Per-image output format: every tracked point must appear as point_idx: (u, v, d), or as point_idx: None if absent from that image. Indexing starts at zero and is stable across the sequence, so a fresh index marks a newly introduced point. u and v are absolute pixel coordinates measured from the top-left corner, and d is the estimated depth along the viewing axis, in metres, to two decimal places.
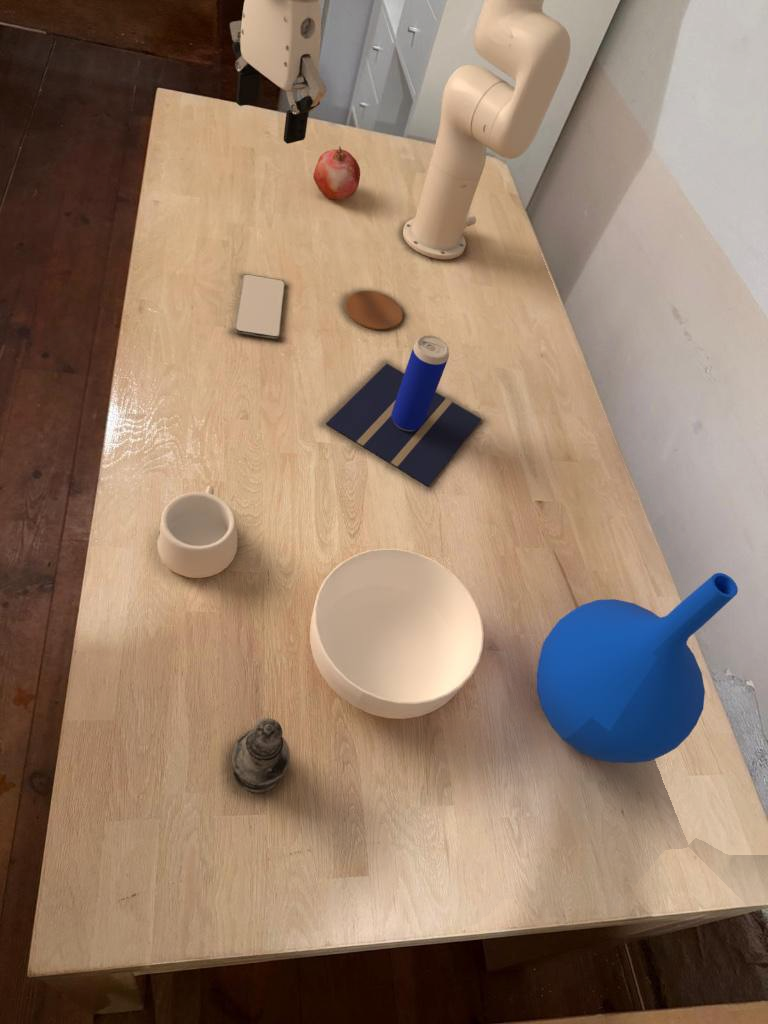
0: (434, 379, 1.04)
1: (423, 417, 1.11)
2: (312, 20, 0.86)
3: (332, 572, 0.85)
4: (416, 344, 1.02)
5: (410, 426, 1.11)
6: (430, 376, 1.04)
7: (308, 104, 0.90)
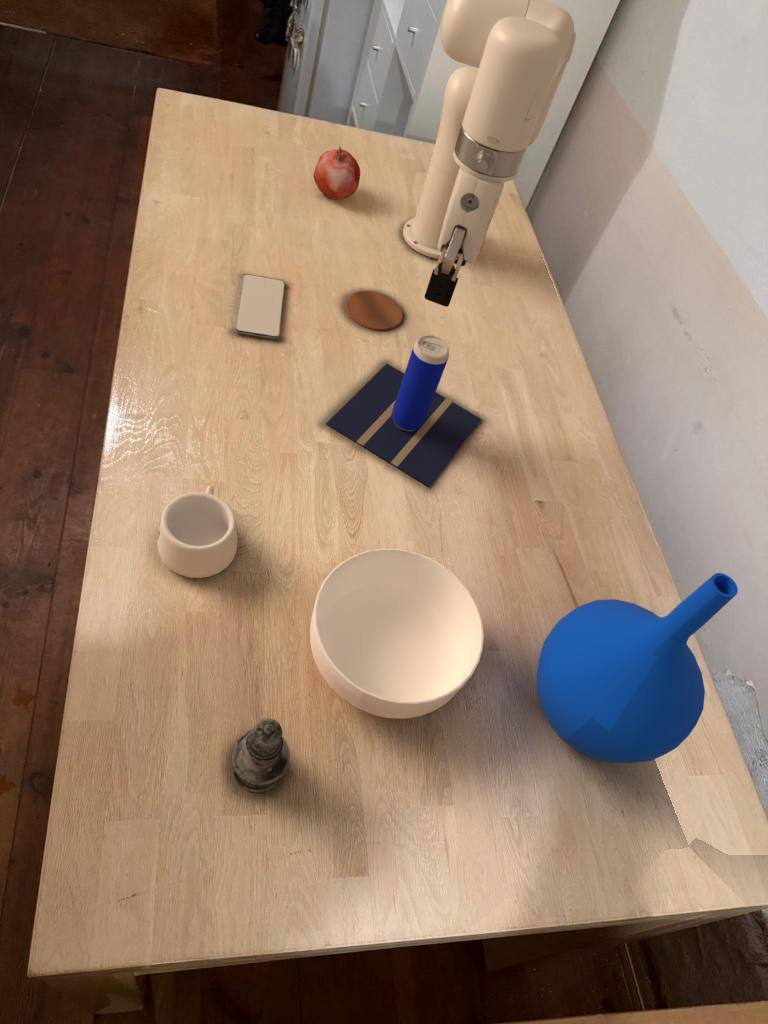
0: (434, 379, 1.04)
1: (423, 417, 1.11)
2: None
3: (332, 572, 0.85)
4: (416, 344, 1.02)
5: (410, 426, 1.11)
6: (430, 376, 1.04)
7: (439, 268, 0.85)
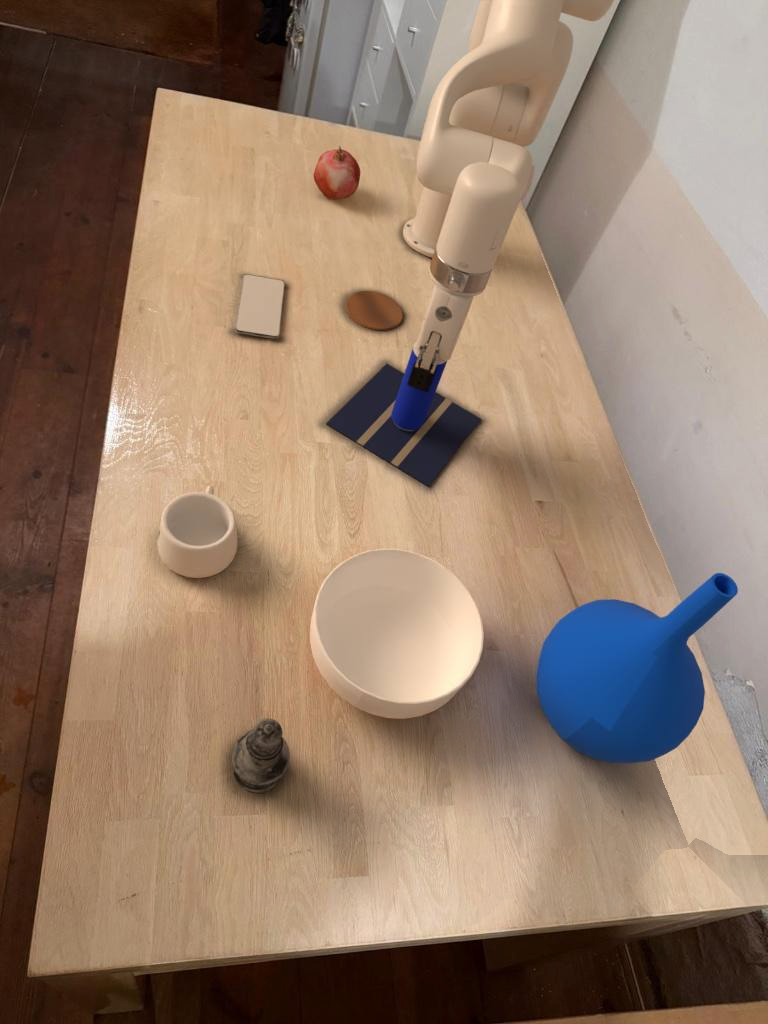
0: (434, 379, 1.04)
1: (423, 417, 1.11)
2: None
3: (332, 572, 0.85)
4: (416, 344, 1.02)
5: (410, 426, 1.11)
6: None
7: (419, 365, 0.98)
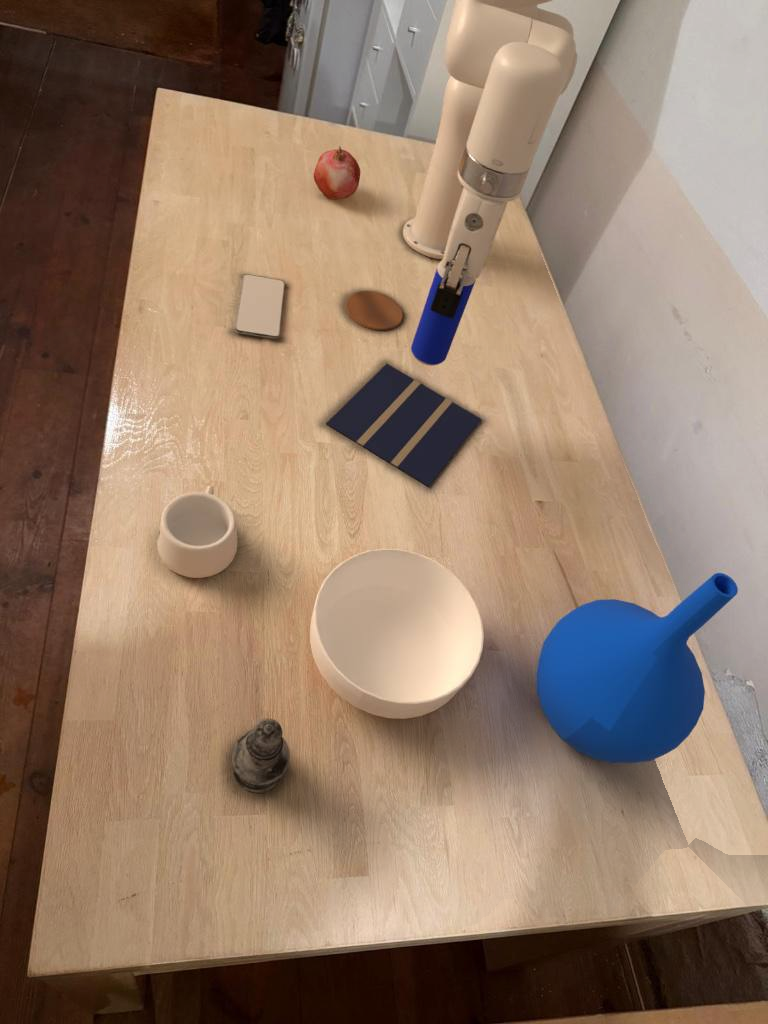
0: (460, 304, 0.95)
1: (446, 349, 1.02)
2: None
3: (332, 572, 0.85)
4: (441, 264, 0.93)
5: (432, 359, 1.02)
6: None
7: (445, 284, 0.89)
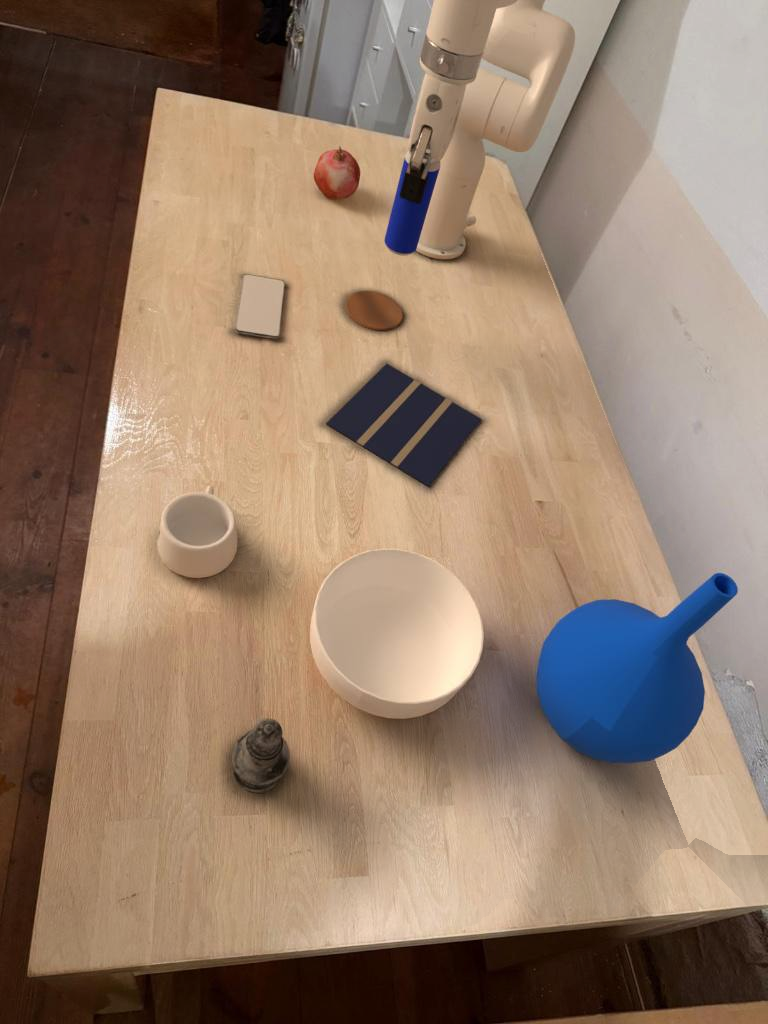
0: (426, 190, 1.05)
1: (416, 239, 1.12)
2: None
3: (332, 572, 0.85)
4: (408, 152, 1.03)
5: (403, 248, 1.13)
6: None
7: (411, 166, 1.00)
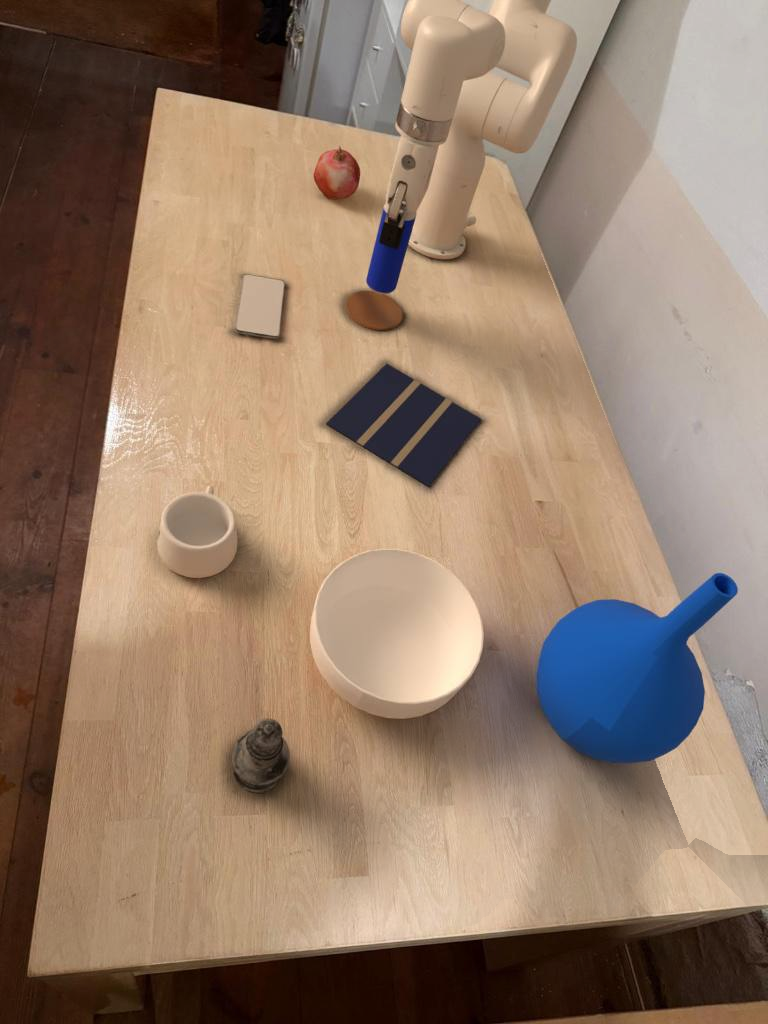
0: (403, 237, 1.15)
1: (395, 279, 1.22)
2: None
3: (332, 572, 0.85)
4: (386, 202, 1.13)
5: (383, 288, 1.22)
6: None
7: None
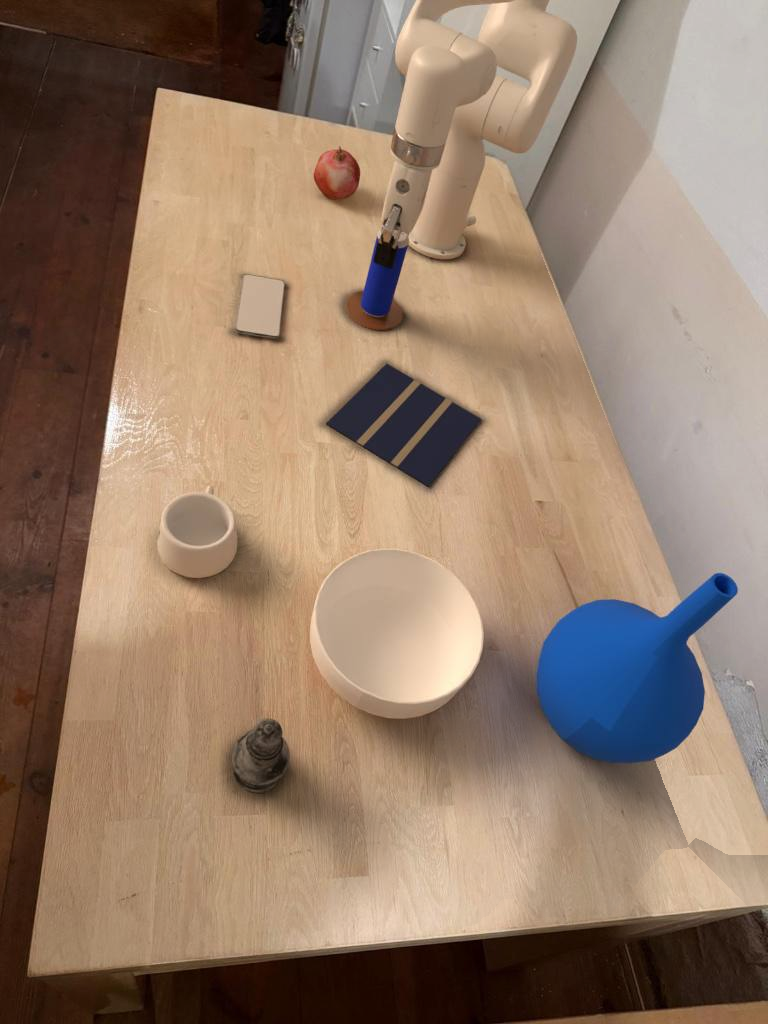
0: (396, 263, 1.19)
1: (388, 303, 1.26)
2: None
3: (332, 572, 0.85)
4: (380, 231, 1.17)
5: (377, 311, 1.26)
6: None
7: (381, 238, 1.10)
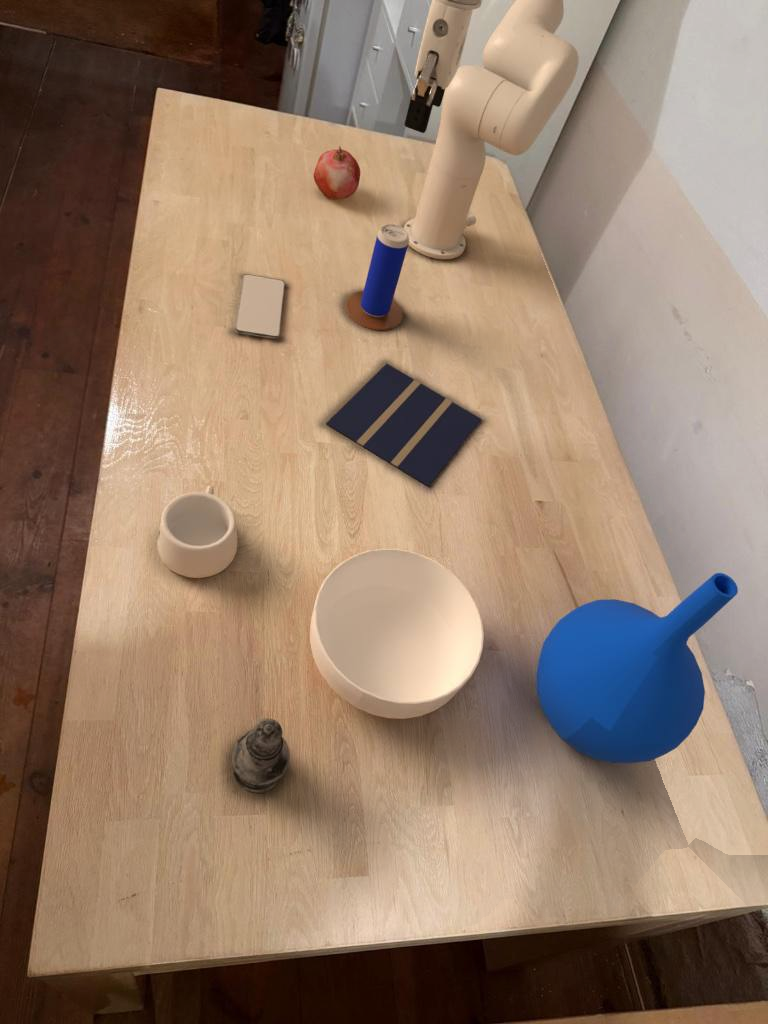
0: (396, 263, 1.19)
1: (388, 303, 1.26)
2: (448, 24, 0.97)
3: (332, 572, 0.85)
4: (380, 231, 1.17)
5: (377, 311, 1.26)
6: (392, 260, 1.18)
7: (416, 90, 1.01)
